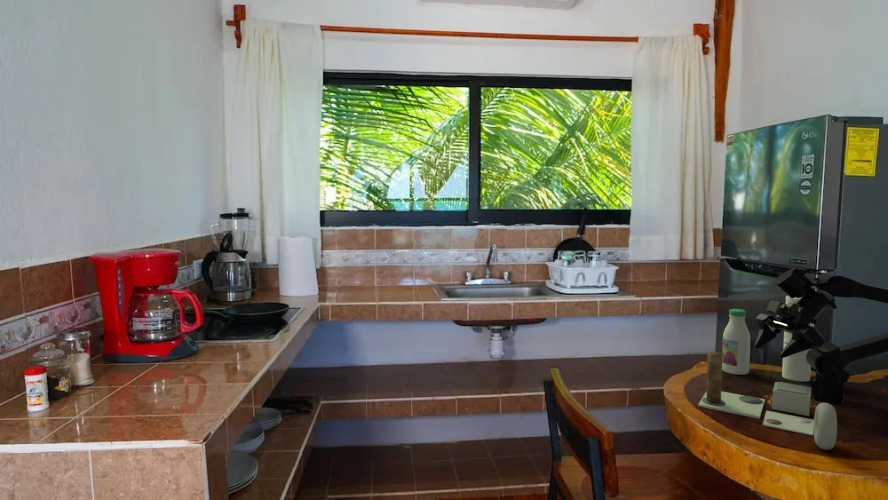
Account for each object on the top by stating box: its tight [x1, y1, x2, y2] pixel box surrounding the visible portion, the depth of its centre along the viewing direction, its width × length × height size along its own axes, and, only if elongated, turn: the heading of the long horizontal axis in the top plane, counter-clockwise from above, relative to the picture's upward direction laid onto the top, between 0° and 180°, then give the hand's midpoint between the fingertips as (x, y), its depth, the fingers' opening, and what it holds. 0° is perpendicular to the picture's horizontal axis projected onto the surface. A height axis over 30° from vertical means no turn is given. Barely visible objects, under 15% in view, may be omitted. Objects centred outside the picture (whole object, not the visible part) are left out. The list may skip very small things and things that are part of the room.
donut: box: [813, 402, 838, 451], centre depth 114 cm, size 10×3×10 cm, turn 149°
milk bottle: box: [721, 308, 751, 376], centre depth 165 cm, size 8×8×20 cm
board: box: [697, 390, 766, 420], centre depth 140 cm, size 14×14×1 cm
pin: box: [706, 351, 723, 404], centre depth 139 cm, size 4×4×13 cm
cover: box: [771, 381, 812, 417], centre depth 137 cm, size 8×8×5 cm
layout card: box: [762, 410, 814, 437], centre depth 127 cm, size 10×10×1 cm
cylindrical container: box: [781, 295, 814, 382], centre depth 159 cm, size 7×7×25 cm
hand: (767, 352), depth 141 cm, fingers open, 9 cm apart
